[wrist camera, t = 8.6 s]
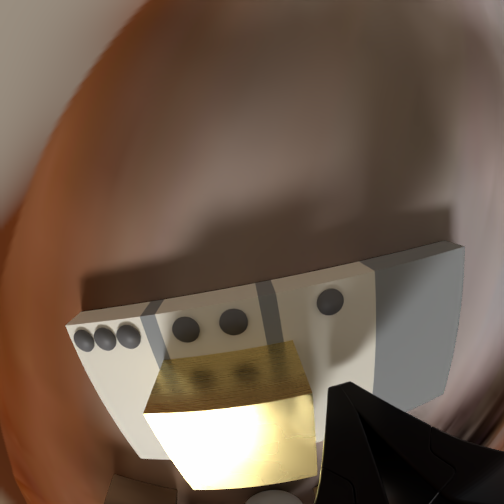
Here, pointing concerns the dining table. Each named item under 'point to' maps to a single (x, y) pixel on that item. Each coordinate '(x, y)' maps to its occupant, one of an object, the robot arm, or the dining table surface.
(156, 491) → the walnut cube
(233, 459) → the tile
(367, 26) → the dining table surface
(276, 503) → the grey ball
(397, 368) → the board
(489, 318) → the dining table surface
